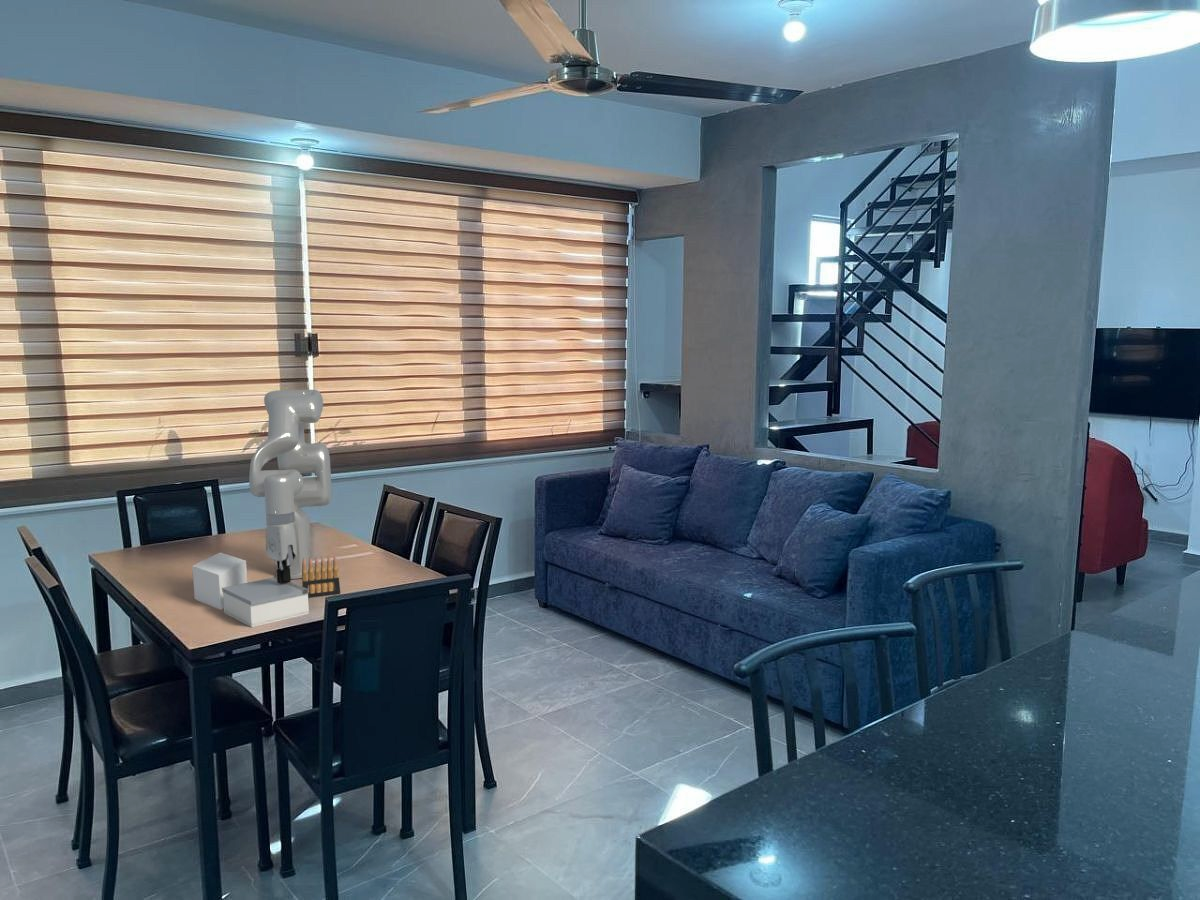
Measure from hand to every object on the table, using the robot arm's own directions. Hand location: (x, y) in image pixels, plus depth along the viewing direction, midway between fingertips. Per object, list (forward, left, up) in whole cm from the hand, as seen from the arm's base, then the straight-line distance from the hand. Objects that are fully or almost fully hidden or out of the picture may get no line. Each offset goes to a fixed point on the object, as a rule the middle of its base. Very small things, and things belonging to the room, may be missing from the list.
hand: (284, 582), depth 243 cm
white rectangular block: (-26, -8, -8) cm, 28 cm away
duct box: (0, -6, -8) cm, 9 cm away
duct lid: (0, -6, -2) cm, 6 cm away
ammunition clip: (-5, +13, -8) cm, 16 cm away
